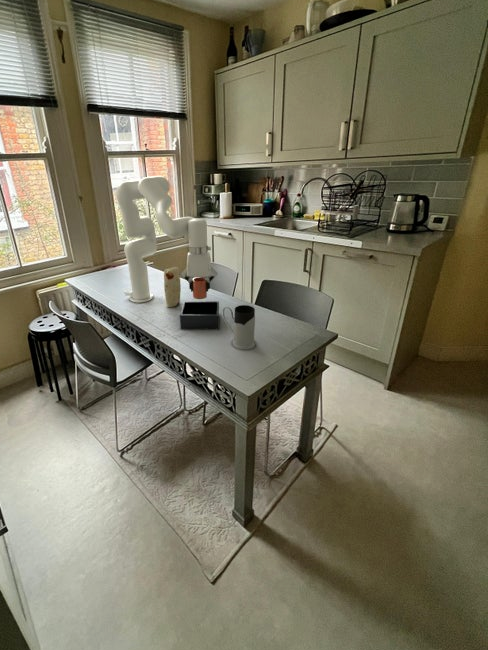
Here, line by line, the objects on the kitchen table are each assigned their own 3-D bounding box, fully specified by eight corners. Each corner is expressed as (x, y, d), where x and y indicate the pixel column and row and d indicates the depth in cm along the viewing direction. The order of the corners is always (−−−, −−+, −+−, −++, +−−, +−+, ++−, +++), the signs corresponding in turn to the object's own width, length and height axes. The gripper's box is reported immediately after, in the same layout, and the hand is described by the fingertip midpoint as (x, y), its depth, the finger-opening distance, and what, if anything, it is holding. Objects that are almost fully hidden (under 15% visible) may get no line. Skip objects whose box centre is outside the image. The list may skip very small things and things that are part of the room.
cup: (192, 299, 136) (191, 281, 133) (193, 293, 141) (192, 277, 138) (206, 299, 135) (206, 281, 132) (207, 293, 141) (206, 276, 137)
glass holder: (247, 351, 119) (248, 316, 113) (216, 340, 128) (216, 306, 122) (259, 342, 125) (260, 307, 119) (229, 331, 134) (229, 299, 128)
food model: (172, 310, 156) (169, 271, 148) (162, 306, 160) (159, 269, 152) (184, 303, 163) (182, 266, 155) (175, 300, 167) (172, 264, 159)
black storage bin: (180, 329, 138) (179, 315, 135) (184, 314, 151) (183, 301, 148) (218, 329, 136) (218, 315, 133) (219, 314, 149) (219, 301, 146)
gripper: (219, 247, 132) (219, 287, 140) (178, 248, 134) (181, 287, 142) (219, 251, 126) (219, 293, 133) (176, 252, 127) (179, 294, 135)
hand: (199, 290), depth 137 cm, fingers closed on cup, 6 cm apart
